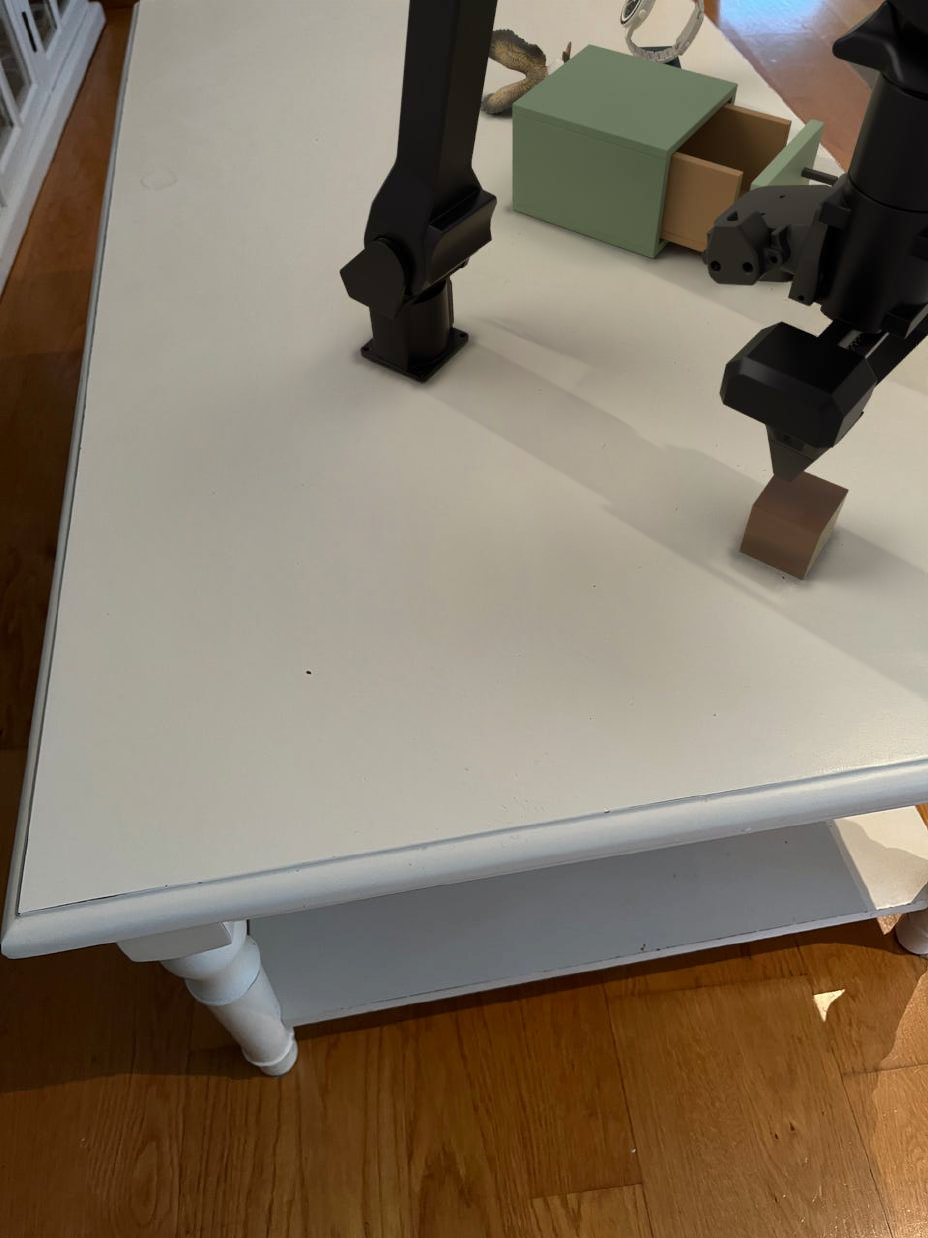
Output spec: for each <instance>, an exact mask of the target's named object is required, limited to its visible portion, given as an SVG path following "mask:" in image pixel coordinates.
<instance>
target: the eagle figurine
mask: <svg viewBox="0 0 928 1238" xmlns="http://www.w3.org/2000/svg"><path fill="white" fill-rule="evenodd" d="M571 51H572V41H568V43H567V46H566V49H565V50H563V51H562V52H561V54H562V55H561V57H557V58H556V59H555V60H553V62H551V63H550V64H549V65H548V66H547V65H546V64H547V55H546V54H545V53H544V51H543V50H542V48H541V47H539V45H538V44H537V43H529V42H528V41H525V39H524V38H522V37H519V35H518V34H516V33H515V31H513V29H509V28H499V29H495V30H493V33H492V39H491V45H490V52H489V58H488V59H490V60H492V61H494V62H496V63H498V64H500V65H502V67H504V68H506V69H508V70H511V71H516V72H518V73H520V74H523V75H524V76H525V77H524V78H523V79H521V80H519V81H516V82H513V83H510V84H507V85H504V86H501V87H500V88H499V89H497V90H496V91H495V92H491V93H489V94H486V96H485V97H482V101H481V107H480V110H482V111H484V113H488V114H498V113H500V112H503V111H505V110H507V109H511V108H513V103H514V102H516V101H517V100H518V99H519V98H521V97H522V96H523V95H525V94H526V93H527V92H528V91H530V90H531V89H532V88H534V87H535V86H536V85H537V84H539V83H540V82H541V81H543V80H544V79H545V78H546V77H548V76H549V75H550V74H552V73H553V72H554V71H555V70H557V69H558V68H559V67H561V66H562V65H563V64H564V63H566V62H567V61H568V60H569V59H571Z"/></svg>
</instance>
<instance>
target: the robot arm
mask: <svg viewBox="0 0 928 1238" xmlns="http://www.w3.org/2000/svg"><path fill="white" fill-rule="evenodd" d="M408 1H409V2H408V12H407V24H406V36H405V49H404V61H403V73H402V82H401V83H402V84H401V94H400V95H401V98H400V106H399V107H400V108H399V109H400V110H399V119H398V130H397V131H398V133H397V143H396V144H397V145H396V156H395V158H394V159H395V160H394V162H393V165H392V166H391V168H390V170H389V172H388V173H387V175H386V177H385V179H384V181H383V182H382V183H381V186H380V188H379V189H378V190H377V193H376V194H375V196H374V198H373V199H372V201H371V204H370V208H369V212H368V216H367V220H366V225H365V228H364V233H363V249H362V250H360V252H359V253H358V254H356V255H355V256H354V257H353V258H352V259H350V261H348V262H347V263H346V264H345V265H343V267H341V268H340V269H339V277H340V278H341V281H342V283H343V285H344V289H345V291H346V294H347V296H348V297H349V298H350V299H351V300H354V301H355V302H358V303H359V304H362V305H363V306H365V307H367V308H368V311H369V312H368V313H369V318H370V326H371V333H372V334H371V335H372V338H371V339H369V340H368V341H367V342H366V343H365V344H364V345H362V346H361V348H360V349H359V350H360V351H359V352H360V356H361V357H362V358H364V359H367V360H368V361H372V362H374V363H375V364H378V365H380V366H382V367H385V368H387V369H389V370H391V371H394V372H396V373H398V374H400V375H402V376H405V377H407V378H410V379H412V380H414V381H416V382H419V383H425V382H427V381H429V379H430V378H432V377H433V376H434V375H435V374H436V372H438V371H439V370H440V369H441V368H443V366H444V365H446V363H448V362H449V360H450V359H452V358H453V357H454V356H455V355H456V354H457V353H458V352H459V351H460V350H461V349H462V348H463V347H464V346H465V345H466V344H468V343H469V341H470V336H469V333H468V332H467V331H464V330H461V329H460V328H456V327H454V324H455V316H454V315H455V312H454V311H455V310H454V295H453V294H454V293H453V282H452V279H451V276H452V275H454V274H455V273H457V271H459V270H460V269H464V268H466V266H468V264H469V261H470V258H471V257H472V256H474V255H475V254H477V253H478V252H479V250H481V249H482V248H483V247H485V246H486V245H487V244H489V243H490V242H491V241H492V240H493V237H492V230H491V226H492V218H493V215H494V211H495V209H496V207H497V205H498V197H497V196H496V195H495V194H493V193H492V192H489V191H487V190H485V189H484V188H483V186H482V185H481V183H480V180H479V179H478V176H477V175H476V172H475V171H474V168H473V156H474V151H475V143H476V137H477V131H478V125H479V121H480V120H479V119H480V113H481V101H483V94H484V89H485V88H484V87H485V82H486V76H487V69H488V63H489V59H490V58H489V52H490V45H491V39H492V33H493V31H494V28H495V27H494V25H495V20H496V19H495V18H496V13H497V7H498V2H499V0H408ZM832 43H833V44H832V46H831V52H832V55H833V56H834V58H836V59H838V60H841V61H844V62H849V63H851V64H855V65H859V66H862V67H865V68H868V69H872V70H875V71H877V73H876V75H875V78H874V83H873V86H872V88H871V92H870V96H869V99H868V103H867V106H866V109H865V113H864V116H863V119H862V122H861V126H860V130H859V133H858V136H857V140H856V143H855V147H854V149H853V153H852V157H851V160H850V162H849V166H848V170H847V172H846V173H847V176H846V179H845V183H844V184H843V185H842V186H841V187H831V185H827V184H809V185H773V186H763V187H759V188H756V189H753V190H751V191H749V192H747V193H746V194H744V195H743V196H742V197H741V198H740V199H739V200H737V201H736V202H735V203H734V204H733V205H732V206H730V207H729V208H728V209H727V210H726V211H724V212H723V213H722V214H721V215H720V216H719V217H717V218H716V219H715V221H714V227H713V228H711V229H710V230H709V231H708V232H707V240H708V242H707V248H706V249H705V250H704V251H703V252H701V260H702V262H703V263H704V264H705V265H706V266H707V273H708V276H709V277H710V279H712V281H713V282H714V283H716V284H717V285H728V286H729V285H731V286H745V287H746V286H747V287H748V286H749V287H751V286H754V285H755V284H756V283H758V282H761V283H779V284H780V283H781V284H782V283H789V282H790V283H791V284H790V288H789V291H788V295H787V299H789V300H791V301H795V302H797V303H798V304H802V305H804V306H806V307H811V306H812V305H813V304H814V303H815V304H817V305H819V306H820V308H819V311H820V312H821V314H822V315H824V316H825V317H826V318H827V319H829V320H830V321H831V322H830V323H829V324H828V325H827V326H826V328H824V329H823V331H822V332H820V334H819V335H818V336H817V335H816V334H813V333H810V332H808V331H805V330H803V329H801V328H799V327H797V326H794V325H791V324H789V323H787V322H785V321H783V320H782V321H779V322H775V323H774V324H772V325H769V326H766V327H764V328H761V329H760V330H759V331H758V332H757V333H756V334H755V335H754V336H753V337H752V338H751V339H750V340H749V341H748V342H747V343H746V344H745V345H744V346H742V348H741V349H740V350H739V351H738V352H737V353H736V354H735V355H734V356H733V357H731V359H730V360H728V361H727V362H726V364H725V367H724V371H723V376H722V379H721V384H720V389H719V393H718V394H719V397H720V400H721V402H722V404H723V405H724V406H725V407H727V408H730V409H731V410H734V411H736V412H737V413H740V414H742V415H744V416H747V417H748V418H751V419H752V420H755V421H757V422H759V423H761V424H763V425H764V426H765V430H766V436H767V442H768V449H769V455H770V456H769V457H770V461H771V469H772V474H773V475H775V476H776V477H778V478H780V479H782V480H784V481H786V482H789V483H790V482H792V481H793V480H794V479H795V478H796V477H798V476H799V475H800V474H801V473H802V472H803V471H806V470H807V469H809V467H810V466H812V465H813V464H814V463H815V462H816V461H818V460H819V458H821V457H822V456H823V455H824V454H826V452H828V451H829V450H831V449H833V448H834V447H835V446H837V445H838V444H839V443H840V442H842V440H843V439H844V438H845V437H846V435H848V433H849V432H850V431H851V429H852V428H853V427H854V426H855V425H856V424H857V422H859V420H860V419H861V418H862V417H863V416H864V414H865V411H864V410H865V408H866V406H867V404H868V403H869V401H870V400H871V397H872V396H873V392H874V390H875V388H876V387H878V385H879V384H880V383H881V382H882V381H883V380H885V379H886V378H887V376H889V375H890V374H891V373H892V372H893V371H894V370H895V368H897V366H899V364H901V363H902V361H904V360H905V359H906V357H908V356H909V355H910V354H911V353H912V352H913V351H914V350H915V349H916V348H917V347H918V346H919V345H920V344H921V343H922V342H923V341H924V340H925V339H926V338H927V337H928V0H883V1H882V3H880V5H879V6H878V8H877V9H875V10H874V11H872V12H869V14H867V15H866V16H865V17H864V18H862V19H861V20H860V21H858V22H857V23H856V24H854V25H853V26H852V27H851V28H850V29H848V30H847V31H845V32H844V33H843V34H842V35H841V36H839V37H838V38H837V39H836V40H835V41H834V42H832Z"/></svg>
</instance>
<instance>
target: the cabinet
mask: <svg viewBox="0 0 928 1238" xmlns="http://www.w3.org/2000/svg"><path fill="white" fill-rule="evenodd" d="M681 68H682V67H681ZM681 68H677V67H673V66H670V65H666V64H662V63H658V62H655V61H651V60H647V59H643V58H639V57H636V56H633V54H628V53H624V52H620V51H617V50H612V49H608V48H606V47H601V46H598V45H594V44H591V43H590V44H587V45H586V46H584V47H583V48H582V49H581V50H580V51H578V52H577V53H576V54H575V55H573V56H572V57H570V59H569V60H568V61H567V62H566V63H564V64H563V65H562V66H561V67H559V68H558V69H557V70H555V71H554V72H553V73H552V74H550V75H549V76H548V77H546V78H545V79H544V80H543V81H541V82H540V83H539V84H537V85H536V86H535V87H534V88H532V89H531V90H530V91H528V92H527V93H526V94H525V95H523V96H522V97H521V98H519V99H518V100H517V101H516V102H514V103H513V106H512V121H511V122H512V126H511V127H512V130H511V131H512V133H511V134H512V141H511V143H512V145H511V146H512V147H511V148H512V149H511V150H512V157H511V158H512V159H511V160H512V161H511V162H512V165H511V166H512V167H511V168H512V170H511V171H512V174H511V175H512V176H511V179H512V181H511V182H512V183H511V184H512V185H511V186H512V187H511V192H512V193H511V206H512V207H511V210H512V211H514V212H515V211H516V212H518V213H521V214H524V215H527V216H530V217H532V218H536V219H538V220H541V221H543V222H548V223H550V224H552V225H555V226H558V227H560V228H564V229H567V230H570V231H573V232H575V233H578V234H582V235H584V236H587V237H589V238H593V239H596V240H598V241H602V242H604V243H607V244H611V245H613V246H616V247H617V248H618V247H619V248H621V249H623V250H628V251H630V252H633V253H636V254H638V255H641V256H645V257H647V258H651V259H654V258H655V257H656V256H657V255H658V254H659V253H660V252H661V251H662V250H663V249H664V248H665V247H666V246H667V245H668V244H669V243H670V241H668V240H665V239H662V238H660V231H661V223H662V216H663V209H664V202H665V194H666V187H667V180H668V173H669V166H670V158H671V155H672V154H673V153H674V152H675V151H676V150H677V149H678V148H679V147H680V146H681V145H682V144H683V143H684V142H685V141H686V140H688V139H689V138H690V137H691V136H692V135H693V134H694V133H695V132H696V131H697V130H698V129H699V128H700V127H701V126H702V125H703V124H704V123H705V122H706V121H707V120H708V119H709V118H711V117H712V116H713V115H714V114H715V113H716V112H717V111H718V110H719V109H720V108H721V107H722V106H723V105H724V104H725V103H729V104H733V105H735V103H736V99H737V98H736V97H737V91H738V86H739V84H738V83H737V82H734V81H728V80H726V79H722V78H718V77H715V76H710V75H707V74H703V73H699V72H696V71H693V70H692V71H691V70H688V69H685V68H682V69H681Z"/></svg>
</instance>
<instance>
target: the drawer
mask: <svg viewBox="0 0 928 1238" xmlns="http://www.w3.org/2000/svg"><path fill="white" fill-rule="evenodd" d="M792 122H793V121H792V120H791V119H787V118H784V117H780V116H776V115H772V114H768V113H765V112H762V111H757V110H754V109H751V108H747V107H743V106H741V105H737V104H734V105H733V104H729V103H725V104H724V105H723V106H722V107H721V108H720V109H719V110H718V111H717V112H716V113H715V114H714V115H713V116H712V117H711V118H709V119H708V120H707V121H706V122H705V123H704V124H703V125H702V126H701V127H700V128H699V129H698V130H697V131H696V132H695V133H694V134H693V135H692V136H691V137H690V138H689V139H688V140H686V141H685V142H684V143H683V144H682V145H681V146H680V147H679V148H678V149H677V150H676V151H675V152H674V153H673V154H672V155H671V158H670V166H669V173H668V180H667V187H666V194H665V202H664V209H663V216H662V223H661V231H660V238H662V239H665V240H668V241H669V242H671V243H674V244H677V245H680V246H683V247H686V248H688V249H692V250H694V251H697V252H700V253H702V252H703V251H704V250H705V249H706V248H707V242H708V240H707V232H708V231H709V230H710V229H711V228H713V227H714V221H715V219H716V218H717V217H719V216H720V215H721V214H722V213H723V212H724V211H726V210H727V209H728V208H729V207H730V206H732V205H733V204H734V203H735V202H736V201H737V200H739V199H740V198H741V197H742V196H743V195H744V194H746V193H747V192H749V191H751V190H753V189H756V188H759V187H763V186H773V185H810V181H814V182H816V183H817V182H818V183H821V184H823V185H829V186H831V187H841V186H842V185H843V184H844V183H845V179H846V176H847V173H848V172H844V173H842V174H840V175H839V176H838V175H833V174H830V173H828V172H823V171H820V170H817V169H814V166H815V162H816V159H817V155H818V150H819V147H820V143H821V140H822V136H823V131H824V127H825V123H826V122H825V121H820V120H817V119H814V118H811V119H810V120H809V121H808V122H807V123H806V124H805V125H804V126H803V128H801V130H800V131H799V132H798V133H797V134H796V135H795V136H794V137H793V138H792V139H791V140H790V141H789V143H788V140H789V136H790V131H791V127H792Z"/></svg>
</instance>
